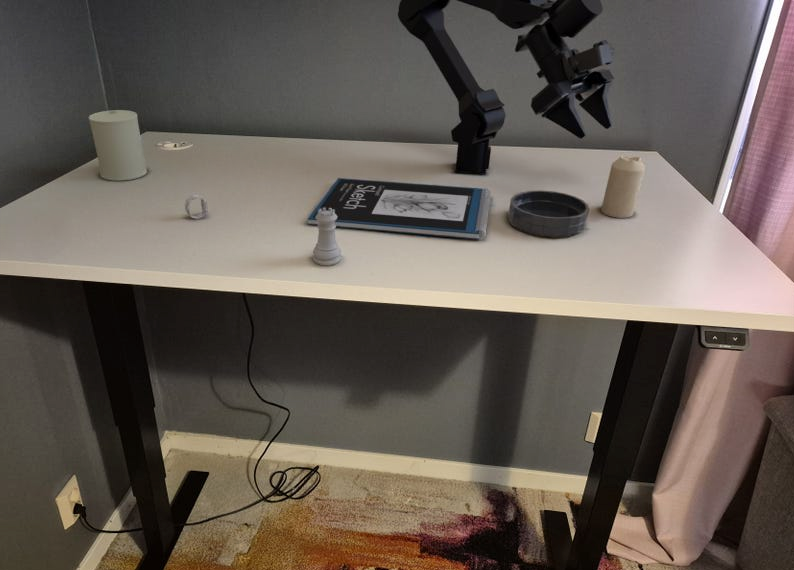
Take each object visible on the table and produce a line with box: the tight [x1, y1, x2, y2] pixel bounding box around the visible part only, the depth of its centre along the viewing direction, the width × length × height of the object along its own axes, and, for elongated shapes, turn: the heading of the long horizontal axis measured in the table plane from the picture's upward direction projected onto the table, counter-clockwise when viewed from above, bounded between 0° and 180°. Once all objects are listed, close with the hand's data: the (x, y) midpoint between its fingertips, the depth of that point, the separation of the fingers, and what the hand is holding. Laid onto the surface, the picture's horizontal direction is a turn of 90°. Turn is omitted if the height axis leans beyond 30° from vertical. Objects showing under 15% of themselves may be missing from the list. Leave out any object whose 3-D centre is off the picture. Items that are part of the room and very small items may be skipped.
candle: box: [601, 155, 646, 219], centre depth 112 cm, size 6×6×10 cm
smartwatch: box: [184, 194, 209, 220], centre depth 111 cm, size 4×2×4 cm, turn 118°
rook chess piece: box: [312, 208, 342, 267], centre depth 96 cm, size 4×4×8 cm
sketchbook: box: [307, 177, 492, 241], centre depth 115 cm, size 22×30×2 cm
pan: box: [507, 190, 590, 238], centre depth 110 cm, size 13×13×4 cm
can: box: [88, 109, 148, 182], centre depth 128 cm, size 9×9×12 cm
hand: (596, 132), depth 112 cm, fingers open, 9 cm apart
